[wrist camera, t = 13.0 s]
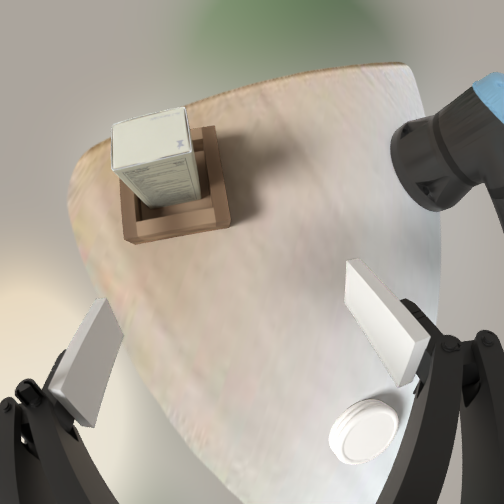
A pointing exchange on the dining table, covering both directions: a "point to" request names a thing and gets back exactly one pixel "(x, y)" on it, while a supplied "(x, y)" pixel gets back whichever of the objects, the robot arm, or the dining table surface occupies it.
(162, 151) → the skincare box
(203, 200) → the holder
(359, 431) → the white round piece
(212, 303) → the dining table surface
